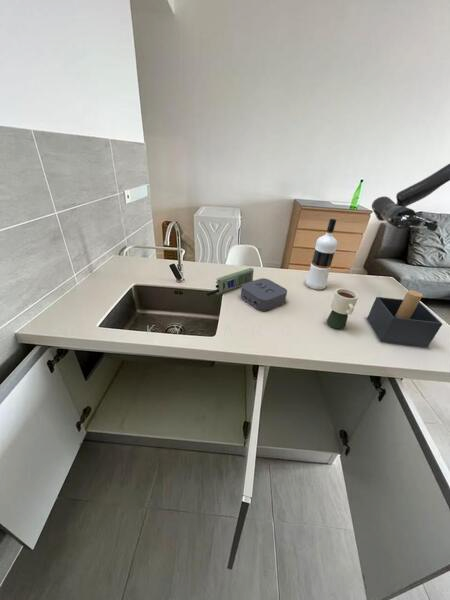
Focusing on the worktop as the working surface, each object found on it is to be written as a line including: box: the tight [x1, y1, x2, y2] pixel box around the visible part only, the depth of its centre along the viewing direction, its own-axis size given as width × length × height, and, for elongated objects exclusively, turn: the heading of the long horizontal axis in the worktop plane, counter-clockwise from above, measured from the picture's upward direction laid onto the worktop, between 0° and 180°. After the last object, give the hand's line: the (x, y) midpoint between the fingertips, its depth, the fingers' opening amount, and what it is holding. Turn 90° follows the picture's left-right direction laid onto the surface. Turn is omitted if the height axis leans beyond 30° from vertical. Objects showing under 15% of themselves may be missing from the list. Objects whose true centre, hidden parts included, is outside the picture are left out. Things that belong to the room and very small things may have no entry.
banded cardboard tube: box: [394, 289, 423, 319], centre depth 80 cm, size 4×4×15 cm
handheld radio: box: [206, 267, 254, 297], centre depth 104 cm, size 7×3×25 cm
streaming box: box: [240, 278, 288, 312], centre depth 98 cm, size 14×14×5 cm
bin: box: [366, 296, 443, 349], centre depth 82 cm, size 14×13×10 cm
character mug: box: [326, 287, 359, 330], centre depth 83 cm, size 11×7×13 cm, turn 4°
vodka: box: [304, 218, 338, 291], centre depth 104 cm, size 9×9×30 cm
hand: (422, 227), depth 83 cm, fingers open, 8 cm apart
